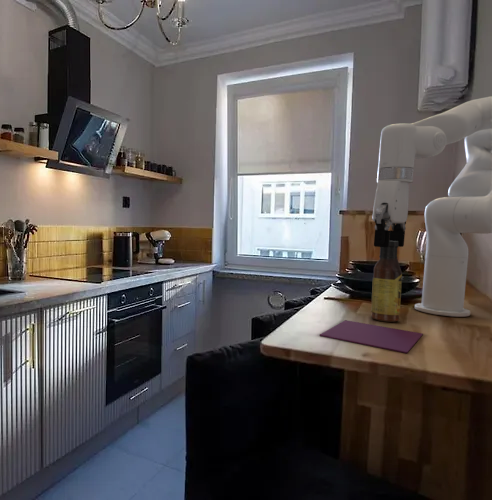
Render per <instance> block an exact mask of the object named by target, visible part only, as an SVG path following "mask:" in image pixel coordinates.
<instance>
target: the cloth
mask: <svg viewBox="0 0 492 500" xmlns="http://www.w3.org/2000/svg"><path fill="white" fill-rule="evenodd" d="M319 336H320V337H324V338H327V339H328V338H329V339H334V340H338V341H342V342H343V341H344V342H349V343H353V344H357V345H362V346H368V347H374V348H378V349H383V350H387V351H393V352H397V353H402V354H409V352H410V351H411V349H412V348H413V347H415V345H416V344H417V343H418V341H419V340H420V339H421V338H422V337H423V336H424V333H422V332H416V331H410V330H405V329H400V328H399V329H398V328H393V327H388V326H383V325H382V326H381V325H375V324H371V323H363V322H358V321H353V320H348V319H345V320H343V321H341V322H339V323H337V324H335V325H334V326H332V327H330V328H329V329H327V330H325V331H323V332H322V333H319Z"/></svg>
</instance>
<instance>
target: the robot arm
mask: <svg viewBox="0 0 492 500" xmlns="http://www.w3.org/2000/svg"><path fill="white" fill-rule="evenodd" d="M463 139H464V140H463ZM461 140H463V141H464V151H465V159H466V163H465V165H464V167H463V168H462V169H461V170H460V172H459V173H458V174H457V176H456V177H455V178H454V180H453V181H452V183H451V184H450V186H449V188H448V192H447V196H444V197H437V198H435V199H433V200H431V201H429V203H428V204H427V205H426V206H425V209H424V215H423V217H424V223H425V232H426V237H425V238H426V239H425V240H426V242H425V256H424V266H423V267H424V269H423V278H422V279H423V280H422V290H421V291H422V292H421V302H418V303H415V304H414V309H415V310H416V311H418V312H421V313H426V314H431V315H435V316H436V315H437V316H445V317H454V318H456V317H457V318H459V317H460V318H463V317H464V318H465V317H469V316H471V310H469V309H467V308H464V307H465V297H466V284H467V275H468V263H469V246H468V243H467V242H466V240H465V239H464V238H463V236H462V235H461V234H481V235H482V234H486V235H488V234H492V95H491V96H485V97H480V98H476V99H471V100H468V101H466V102H463V103H461V104H458V105H456V106H454V107H453V108H450V109H448V110H445V111H443V112H441V113H437V114H435V115H432V116H429V117H426V118H424V119H421V120H418V121H415V122H412V123H407V122H406V123H403V122H401V123H393V124H388V125H385V127H383V128H382V129H381V132H380V140H379V152H378V165H377V176H376V177H377V178H376V183H377V186H376V188H375V189H376V190H375V195H374V201H373V209H372V215H371V217H372V221H373V222H374V224H375V225H374V237H373V246H374V247H376V248H380V247H389V241H398V248H402V247H404V246H405V236H406V224H407V220H408V217H409V215H408V214H409V204H410V203H409V201H410V200H409V199H410V184H412V183H413V182H414V173H415V172H414V171H415V170H414V169H415V161H416V160H417V159H418V160H419V159H428V158H433V157H435V156H438V155H439V154H441V153H443V150H445V148H446V146H448V145H451V144H455V143H457V142H459V141H461ZM390 228H391V229H390ZM389 229H390V230H389Z"/></svg>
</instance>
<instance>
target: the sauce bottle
mask: <svg viewBox="0 0 492 500" xmlns="http://www.w3.org/2000/svg"><path fill="white" fill-rule="evenodd" d="M398 248H399V247H398V241H389V247H379V259H378V260H377V262H376V263H375V264H374V267H373V277H372V290H371V292H372V293H371V307H370V309H371V310H370V312H371V318H372V319H373V320H374V321H375V320H376V321H379V322H387V323H396V322H398V321H399V319H400V314H401V300H402V299H401V298H402V281H403V271H402V269H401V266H400V263H399V259H398Z"/></svg>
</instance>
